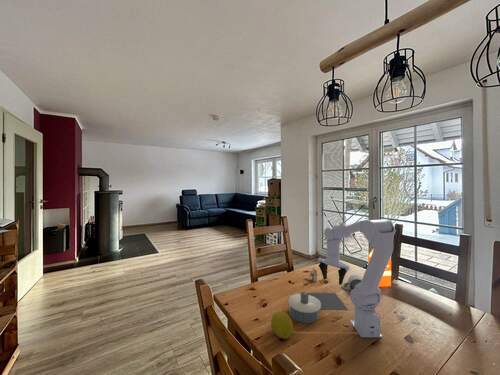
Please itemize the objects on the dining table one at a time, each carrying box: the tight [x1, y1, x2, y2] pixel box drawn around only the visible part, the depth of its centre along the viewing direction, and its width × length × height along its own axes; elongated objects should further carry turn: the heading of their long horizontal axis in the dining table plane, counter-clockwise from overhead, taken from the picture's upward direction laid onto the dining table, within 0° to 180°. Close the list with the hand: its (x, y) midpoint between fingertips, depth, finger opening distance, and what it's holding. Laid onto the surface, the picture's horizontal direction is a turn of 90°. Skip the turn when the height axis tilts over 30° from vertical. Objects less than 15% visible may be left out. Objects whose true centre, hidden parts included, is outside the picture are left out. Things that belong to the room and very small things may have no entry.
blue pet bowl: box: [288, 305, 320, 324], centre depth 95 cm, size 12×12×5 cm
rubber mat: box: [307, 292, 349, 311], centre depth 106 cm, size 15×15×1 cm
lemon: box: [270, 310, 294, 340], centre depth 83 cm, size 11×8×8 cm
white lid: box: [288, 291, 321, 313], centre depth 95 cm, size 14×14×4 cm
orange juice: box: [367, 248, 392, 288], centre depth 125 cm, size 8×9×20 cm
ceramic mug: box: [341, 274, 363, 291], centre depth 118 cm, size 11×8×8 cm
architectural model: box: [307, 266, 318, 283], centre depth 130 cm, size 3×7×7 cm, turn 4°
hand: (332, 281), depth 105 cm, fingers open, 7 cm apart
